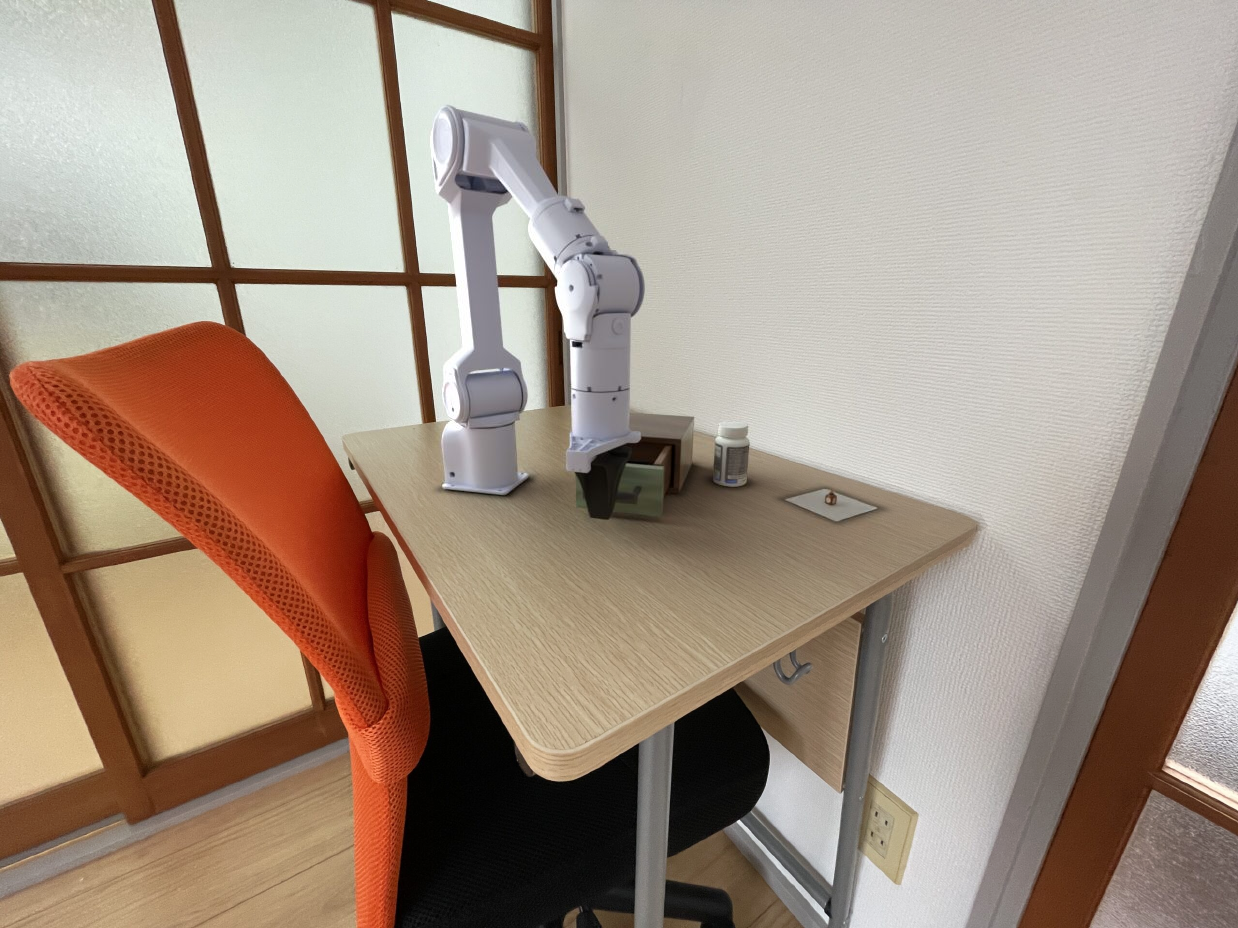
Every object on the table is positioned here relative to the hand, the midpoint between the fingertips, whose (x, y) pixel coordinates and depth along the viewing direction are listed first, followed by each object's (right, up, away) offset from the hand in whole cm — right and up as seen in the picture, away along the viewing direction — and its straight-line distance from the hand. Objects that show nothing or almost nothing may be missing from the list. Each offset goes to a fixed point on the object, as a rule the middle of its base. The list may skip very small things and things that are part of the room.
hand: (601, 516), depth 55 cm
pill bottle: (+18, +3, +20) cm, 27 cm away
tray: (+3, +3, +12) cm, 12 cm away
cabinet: (+6, +4, +23) cm, 24 cm away
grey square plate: (+29, 0, +12) cm, 31 cm away
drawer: (+3, +1, +11) cm, 11 cm away
